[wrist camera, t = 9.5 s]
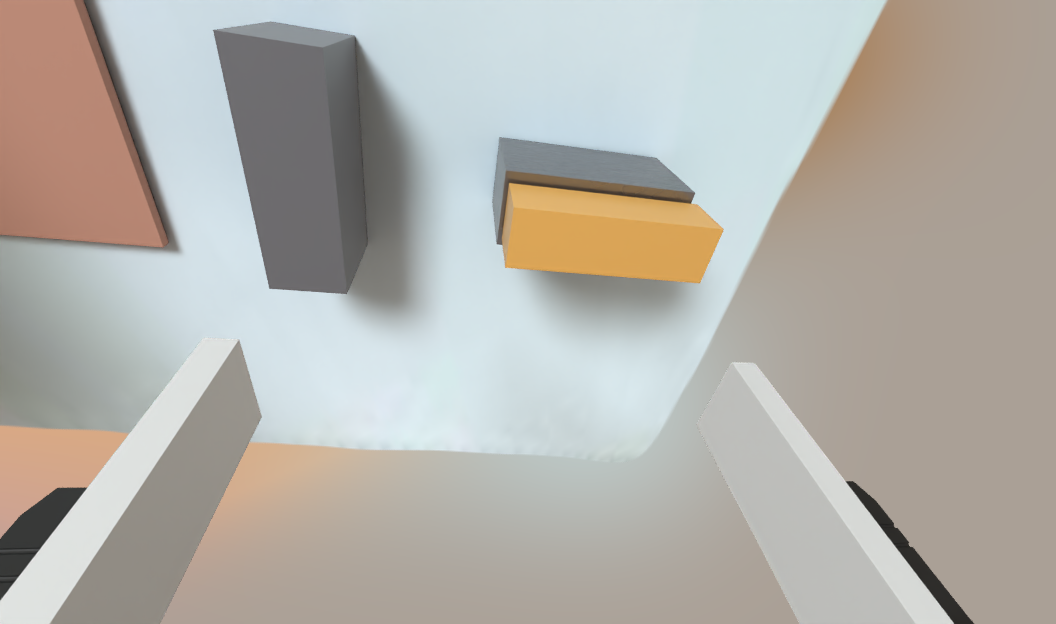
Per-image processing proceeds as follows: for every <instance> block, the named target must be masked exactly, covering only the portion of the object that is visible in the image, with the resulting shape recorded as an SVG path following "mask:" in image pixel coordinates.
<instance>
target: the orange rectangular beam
mask: <svg viewBox="0 0 1056 624" xmlns="http://www.w3.org/2000/svg"><path fill="white" fill-rule="evenodd" d="M723 230H724V229H723V228H722V227H721V226H720V225H719V224H718V223H716V222H715V221H714V220H713V219H712V218H711V217H710V216H709V215H708V214H707V213H706V212H705V211H704V210H703V209H702V208H701V207H699V206H698V205H697V204H688V203H680V202H671V201H662V200H653V199H645V198H636V197H627V196H618V195H610V194H601V193H592V192H583V191H575V190H566V189H557V188H549V187H540V186H531V185H522V184H514V183H509V187H508V195H507V202H506V210H505V218H504V225H503V233H502V245H503V253H504V261H505V268H517V269H530V270H542V271H555V272H567V273H579V274H592V275H604V276H617V277H629V278H641V279H654V280H666V281H679V282H691V283H700V282H701V280H702V277H703V275H704V273H705V271H706V268H707V266H708V264H709V262H710V259H711V257H712V255H713V253H714V250H715V248H716V246H717V244H718V241H719V239H720V237H721V235H722V232H723Z"/></svg>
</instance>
